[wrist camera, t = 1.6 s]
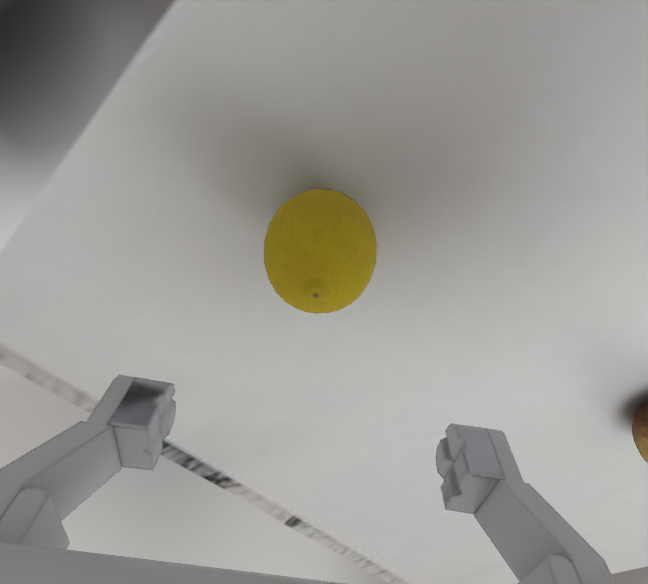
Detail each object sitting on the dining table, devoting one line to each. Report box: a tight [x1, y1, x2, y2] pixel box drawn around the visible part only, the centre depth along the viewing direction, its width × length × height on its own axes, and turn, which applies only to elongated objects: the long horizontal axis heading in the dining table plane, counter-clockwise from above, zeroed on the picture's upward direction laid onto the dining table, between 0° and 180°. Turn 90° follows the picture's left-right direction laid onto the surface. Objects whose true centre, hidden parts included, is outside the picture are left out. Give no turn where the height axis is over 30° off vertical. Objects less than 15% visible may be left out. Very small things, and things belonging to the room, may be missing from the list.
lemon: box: [264, 189, 377, 313], centre depth 20 cm, size 6×6×8 cm
